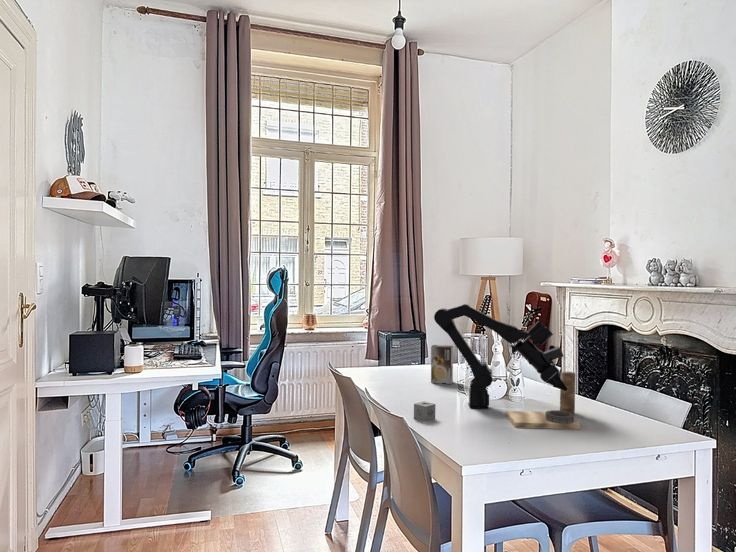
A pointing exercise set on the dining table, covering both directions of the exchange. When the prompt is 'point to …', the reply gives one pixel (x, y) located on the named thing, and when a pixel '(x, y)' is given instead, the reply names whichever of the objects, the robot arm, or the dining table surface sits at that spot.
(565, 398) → the walnut post
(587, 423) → the dining table surface
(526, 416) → the oak socket board
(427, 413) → the dice cube
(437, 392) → the dining table surface
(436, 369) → the coffee box
